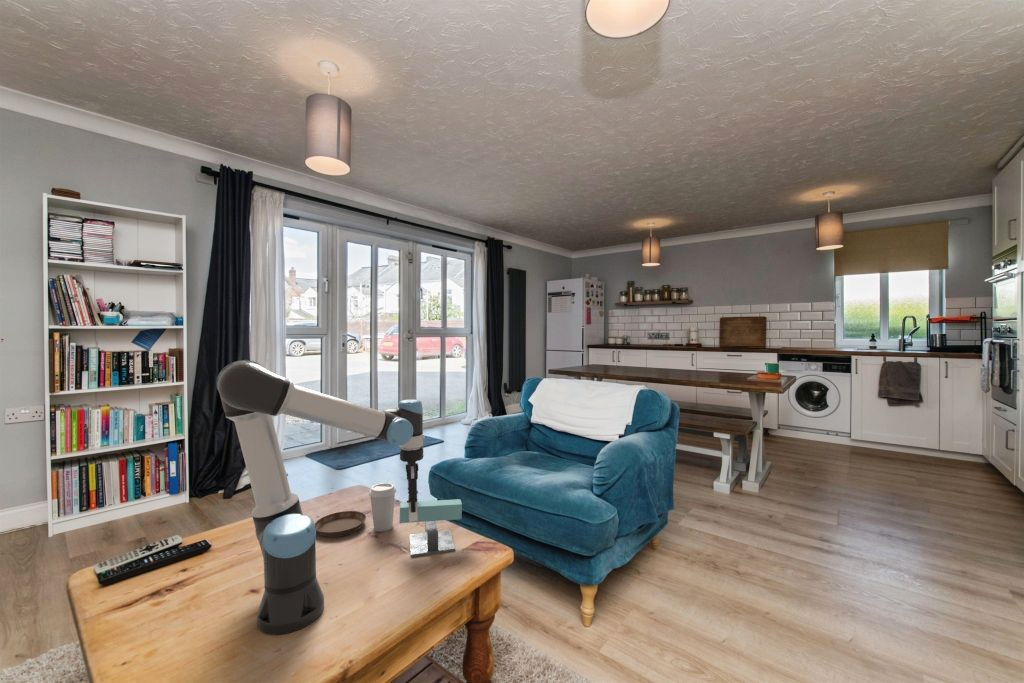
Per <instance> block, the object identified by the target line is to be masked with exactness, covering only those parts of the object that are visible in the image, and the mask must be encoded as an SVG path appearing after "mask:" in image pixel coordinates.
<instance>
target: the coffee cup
mask: <svg viewBox="0 0 1024 683" xmlns="http://www.w3.org/2000/svg"><path fill="white" fill-rule="evenodd" d="M396 493H397V488H396V487H395V484H393V483H390V482H380V483H377V484H374V485H372V486H371V487H370V490H369V492H368V496H370V503H371V504H370V505H371V506H370V507H371V513H372V522H373V529H374V531H376V532H379V533H381V532H387V531H390V530H391V529H392V528H393V526H394V524H393V523H394V512H395V510H394V509H395V497H396V496H395V495H396Z"/></svg>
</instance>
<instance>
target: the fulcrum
mask: <svg viewBox="0 0 1024 683" xmlns="http://www.w3.org/2000/svg"><path fill="white" fill-rule="evenodd" d="M453 539H454V538H453V535H452V532H451V529H443V530H438V526H437V521H426V522H424V532H419V533H411V534H409V547H410V548H409V551H410V558H414V557H415V558H416V557H421V556H429V555H436V554H443V553H451V552H455V551H456V546H455V543H454V540H453Z"/></svg>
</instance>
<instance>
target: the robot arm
mask: <svg viewBox="0 0 1024 683" xmlns="http://www.w3.org/2000/svg"><path fill="white" fill-rule="evenodd" d="M216 389H217V391H218V393H219V396H220V399H221V400H220V401H221V404H222V408H223V411H224V415H225V418H226V419H229V420H230V421H233V422H234V425H235V430H236V433H237V437H238V441H239V444H240V449H241V452H242V456H243V459H244V463H245V468H246V471H247V475H248V479H249V483H250V486H251V487H250V488H251V490H252V494H253V498H254V503H255V507H254V508H253V509H252V511H251V516H252V522H253V524H254V528H255V535H256V538H257V540H258V543H259V547H260V550H261V555H262V558H263V571H264V572H263V574H264V575H263V578H264V579H263V580H264V592H263V593H262V597H261V600H260V604H259V607H258V611H257V612H256V613H257V615H256V625H257V628H258V629H259V631H260V632H262V633H265V634H267V635H268V634H269V635H284V634H288V633H293V632H297V631H298V630H300V629H304V628H305V627H307V626H309V625H310V624H312V623H314V622H315V621H316V620H317V619H318V618H319V617H320V616H321V614H322V613H323V612H324V610H325V597H324V596H325V595H324V594H323V591H322V588H321V586H320V583H319V581H318V578H317V563H316V562H317V558H316V556H317V554H316V550H317V549H316V536H317V531H316V529H315V525H314V524H315V522H314V520H313V519H312V518H311V517H310V516H309V515H306V514H303V510H302V507H301V502H300V498H299V496H298V494H295V493H294V492H291V488H290V484H289V479H288V476H287V472H286V469H285V468H286V467H285V465H284V464H285V463H284V461H283V460H284V459H283V456H282V452H281V448H280V444H279V440H278V436H277V432H276V427H275V425H274V424H275V423H274V420H273V417H278V416H279V415H282V414H283V415H285V416H291V417H294V418H298V419H302V420H306V421H309V422H313V423H316V424H321V425H325V426H329V427H333V428H336V429H341V430H343V431H348V432H352V433H356V434H359V435H363V436H364V437H371V438H374V439H377V440H381V441H385V442H389V444H391V445H395V446H399V448H400V449H399V460H400V461H401V462H403V463H407V464H405V472H406V480H407V486H408V487H407V491H408V492H407V500H406V502H407V503H409V522H411V523H414V522H413V521H418V515H417V501H418V500H419V499H418V494H419V490H418V482H417V480H418V478H419V474H418V472H419V463H418V462H419V461H421V460H423V458H424V440H426V439H425V438H426V437H425V435H424V432H423V430H424V428H423V424H424V418H423V417H424V416H423V415H424V411H423V409H424V408H423V403H422V401H421V400H419V399H404V400H400V401H399V402H398V406H397V407H395V408H394V407H393V408H388V409H387V408H386V409H379V410H378V409H375V408H371V407H368V406H366V405H361V404H358V403H355V402H352V401H349V400H345V399H342V398H339V397H336V396H334V395H333V396H332V395H329V394H326V393H322V392H318V391H315V390H313V389H309V388H307V387H303V386H301V385H300V386H299V385H297V384H296V385H295V383H293V380H292V379H290V378H287V377H284V376H281V375H279V374H276V373H275V372H272V371H271V370H269V369H267V368H265V367H264V366H262V364H260V363H259V362H256V361H255V360H254V361H253V360H250V359H249V360H248V359H244V360H237V361H234V362H233V361H232V362H231V363H229V364H227V365H226V366H224V367H223V368H222V369H221V370H220V372H219V373H218V375H217V377H216Z"/></svg>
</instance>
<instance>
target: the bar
mask: <svg viewBox="0 0 1024 683" xmlns="http://www.w3.org/2000/svg"><path fill="white" fill-rule="evenodd" d="M462 513H463V503H462V500H461V499H459V498H458V499H440V500H423V501H417V515H418V521H413V522H409V503H407V501H402V502H400V503H399V524H405V523H406V524H408V523H409V524H410V523H422V522H423V523H425V522H426V521H436V522H437V521H452V520H453V521H455V520H456V521H457V520H462V518H463V516H462V515H463V514H462Z"/></svg>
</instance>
